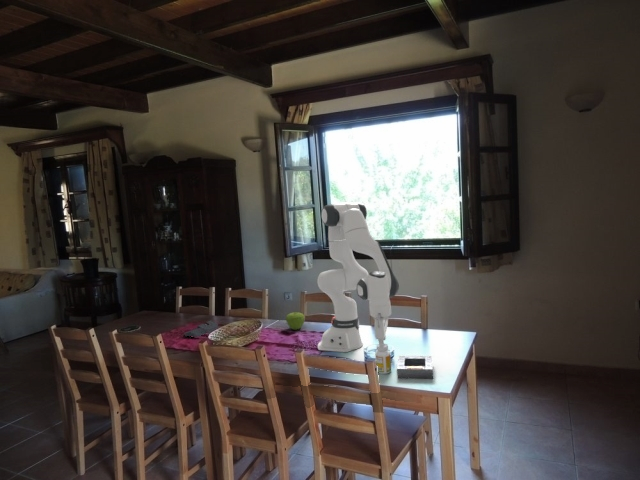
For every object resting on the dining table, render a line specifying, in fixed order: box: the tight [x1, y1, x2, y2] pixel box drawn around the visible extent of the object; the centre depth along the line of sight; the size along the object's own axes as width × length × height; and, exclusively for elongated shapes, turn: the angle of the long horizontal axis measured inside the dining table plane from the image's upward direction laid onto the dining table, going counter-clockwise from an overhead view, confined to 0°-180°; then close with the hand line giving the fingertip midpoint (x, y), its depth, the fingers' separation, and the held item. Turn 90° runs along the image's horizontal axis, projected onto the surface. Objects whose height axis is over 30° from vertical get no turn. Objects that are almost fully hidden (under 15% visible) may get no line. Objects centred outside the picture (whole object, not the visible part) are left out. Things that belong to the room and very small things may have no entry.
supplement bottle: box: [374, 343, 392, 375], centre depth 186 cm, size 6×6×11 cm
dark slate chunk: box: [182, 320, 220, 337], centre depth 264 cm, size 15×22×5 cm
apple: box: [285, 311, 306, 331], centre depth 256 cm, size 11×10×10 cm
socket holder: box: [396, 355, 434, 380], centre depth 184 cm, size 14×14×4 cm
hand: (382, 343), depth 185 cm, fingers open, 8 cm apart
